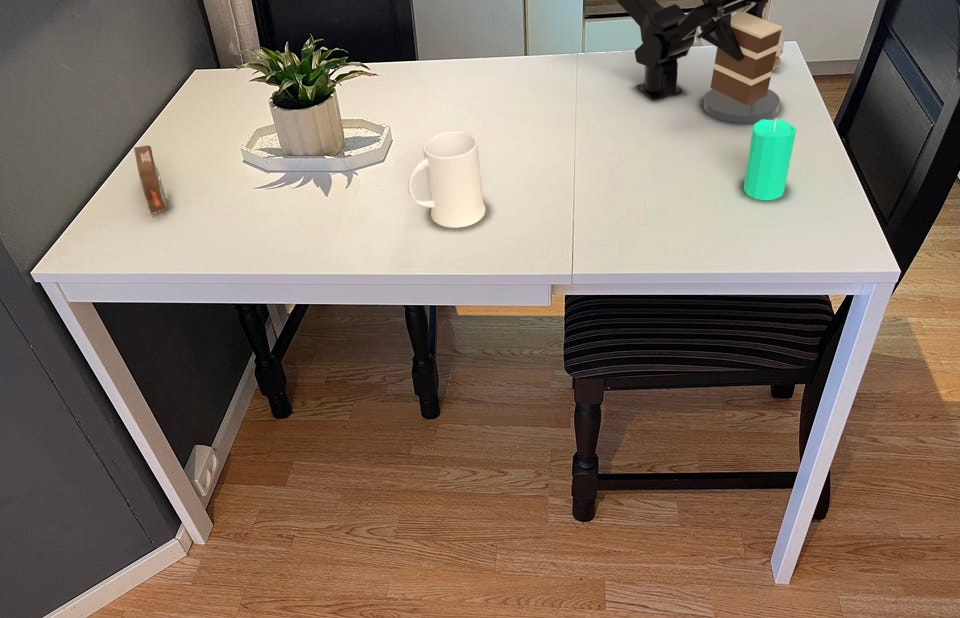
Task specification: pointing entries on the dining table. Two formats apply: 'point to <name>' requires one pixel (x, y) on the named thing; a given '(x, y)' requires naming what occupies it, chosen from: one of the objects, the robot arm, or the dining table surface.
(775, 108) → the plate
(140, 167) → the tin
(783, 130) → the candle
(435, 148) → the mug
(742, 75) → the cake slice
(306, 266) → the dining table surface
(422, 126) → the dining table surface
